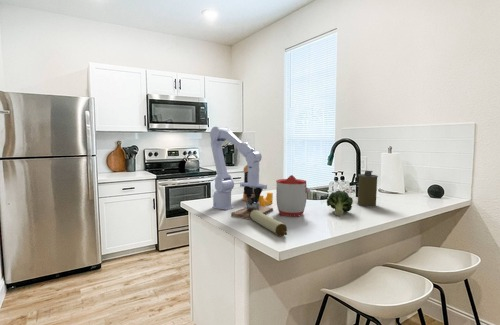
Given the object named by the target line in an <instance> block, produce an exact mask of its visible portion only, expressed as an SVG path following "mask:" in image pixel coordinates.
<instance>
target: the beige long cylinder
mask: <svg viewBox="0 0 500 325" xmlns="http://www.w3.org/2000/svg"><path fill="white" fill-rule="evenodd" d="M249 217H250V218H251V219H250V220H252V221H254V222H256V223H257V224H259V225H260V226H263V227H264V228H266V229H267V230H269V231H271V232H272V233H274V234H275V235H277V236H278V237H283V236H288V232H287V231H288V228H287V225H286V224H285V223H284V222H281V221H279V220H276V219H274V218H272V217H271V216H269V215H268V214H266V215H265V214H263V213H262V212H261V211H259V210H255V209H253V210H251V211H250V213H249Z"/></svg>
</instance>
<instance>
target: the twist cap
mask: <svg viewBox="0 0 500 325" xmlns="http://www.w3.org/2000/svg"><path fill="white" fill-rule="evenodd" d="M258 201H259V200H258ZM246 207H247V211H251V210H253V209H255V210H259V202H257V203H255V194H254V196H251V197H248V199H247V201H246Z"/></svg>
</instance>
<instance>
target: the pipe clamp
mask: <svg viewBox="0 0 500 325" xmlns="http://www.w3.org/2000/svg"><path fill="white" fill-rule="evenodd" d="M273 194H274V193H273V192H267V193H266V197H264V195H262V194H260V197H259V201H258V202H259V206H262V207H268V206H269V205H272V204H273V197H274V195H273Z"/></svg>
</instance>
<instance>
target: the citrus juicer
mask: <svg viewBox="0 0 500 325" xmlns="http://www.w3.org/2000/svg"><path fill="white" fill-rule="evenodd" d="M275 181H276V192H275V193H276V196H275V198H276V205H277V210H278V213H279V215H281V216H282V217H301V216H302V215H303V214H304V212H305V209H306V204H307V194H308V193H311V192H312V191H311V189H310V188H309V187H307V181H306V180H304V179H298V178H296V177H295V176H294V175H293V174H291V175H289V176H288V177H287V178H282V179H281V178H280V179H276V180H275Z"/></svg>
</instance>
